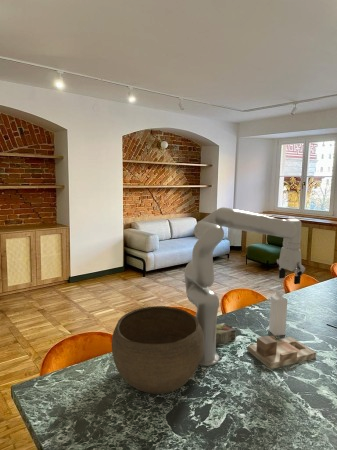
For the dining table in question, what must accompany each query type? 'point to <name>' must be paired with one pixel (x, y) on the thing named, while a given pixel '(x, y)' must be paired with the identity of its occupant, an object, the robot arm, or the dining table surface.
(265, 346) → the light brown block
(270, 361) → the tan puzzle board
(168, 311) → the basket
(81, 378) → the dining table surface
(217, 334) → the juice carton
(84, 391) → the dining table surface
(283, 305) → the milk
